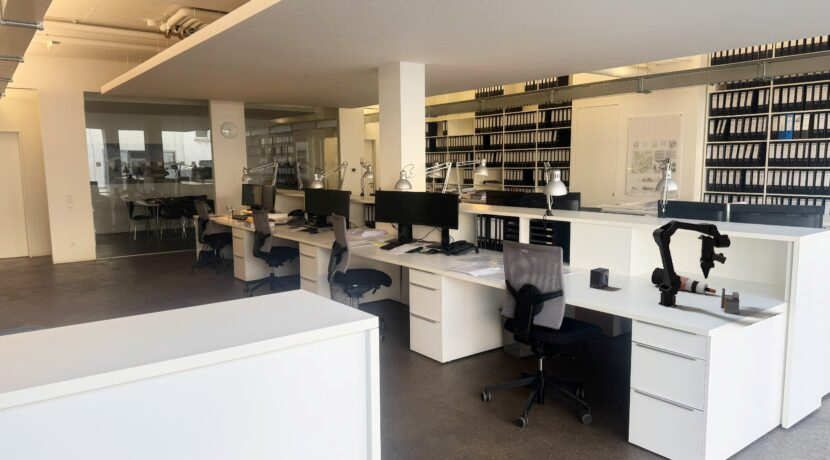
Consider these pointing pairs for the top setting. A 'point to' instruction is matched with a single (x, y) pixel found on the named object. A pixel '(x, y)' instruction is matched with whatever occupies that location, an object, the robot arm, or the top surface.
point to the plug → (723, 299)
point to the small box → (599, 278)
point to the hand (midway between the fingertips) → (706, 278)
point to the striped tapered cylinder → (686, 282)
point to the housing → (732, 303)
